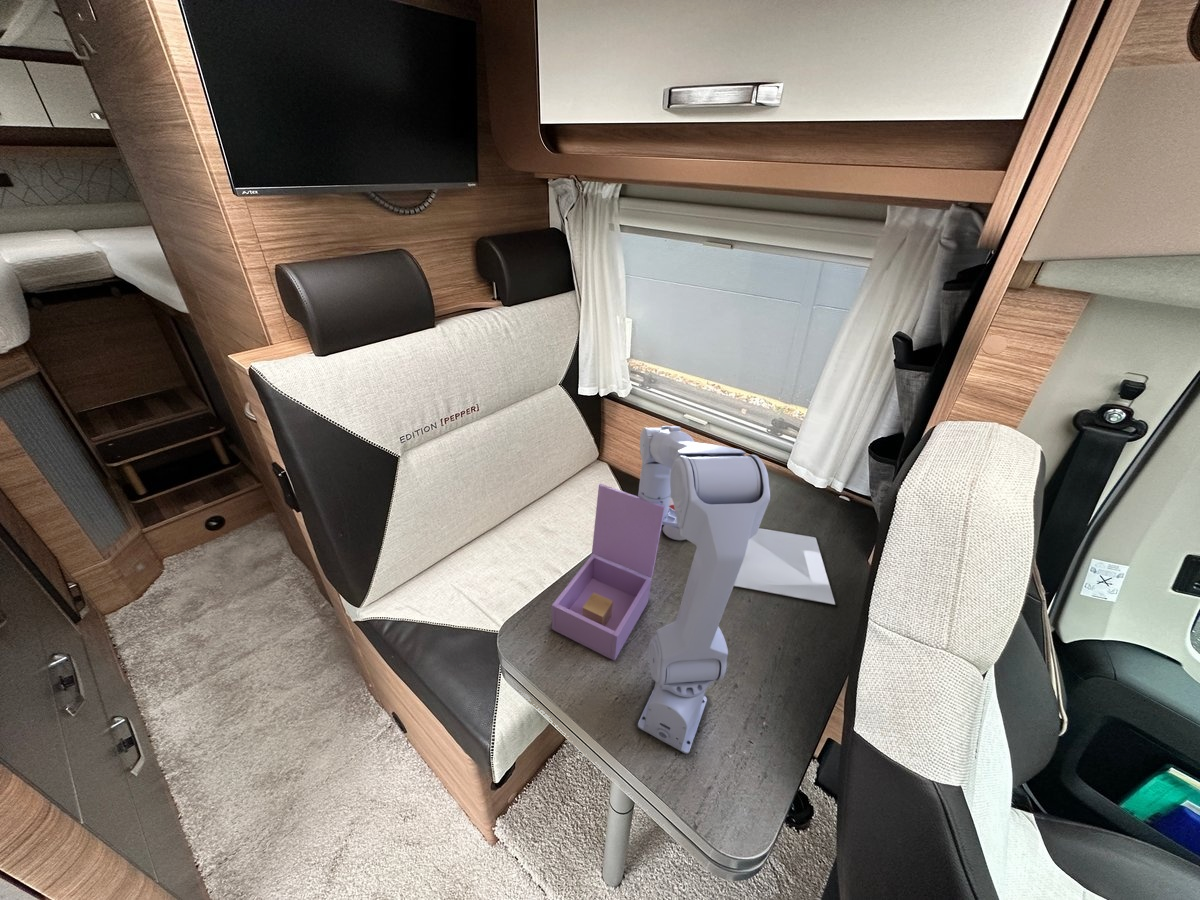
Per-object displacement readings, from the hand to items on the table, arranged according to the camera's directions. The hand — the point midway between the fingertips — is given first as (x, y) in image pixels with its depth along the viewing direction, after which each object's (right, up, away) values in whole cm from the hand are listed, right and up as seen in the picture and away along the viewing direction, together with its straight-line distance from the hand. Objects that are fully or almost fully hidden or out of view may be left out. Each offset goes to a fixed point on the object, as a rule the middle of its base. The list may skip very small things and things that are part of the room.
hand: (647, 547), depth 89 cm
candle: (+9, 0, +19) cm, 21 cm away
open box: (-9, -12, -3) cm, 15 cm away
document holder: (+29, -5, +12) cm, 32 cm away
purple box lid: (-4, +4, -4) cm, 7 cm away
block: (-10, -12, -4) cm, 16 cm away
